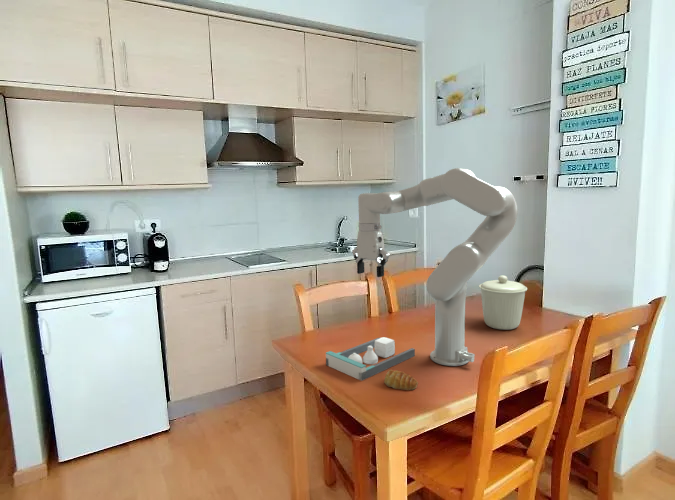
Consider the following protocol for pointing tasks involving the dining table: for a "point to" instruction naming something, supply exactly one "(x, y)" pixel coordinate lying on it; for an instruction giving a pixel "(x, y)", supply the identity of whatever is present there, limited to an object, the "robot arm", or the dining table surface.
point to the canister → (502, 303)
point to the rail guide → (360, 370)
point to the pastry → (400, 380)
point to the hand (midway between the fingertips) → (370, 274)
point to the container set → (376, 351)
